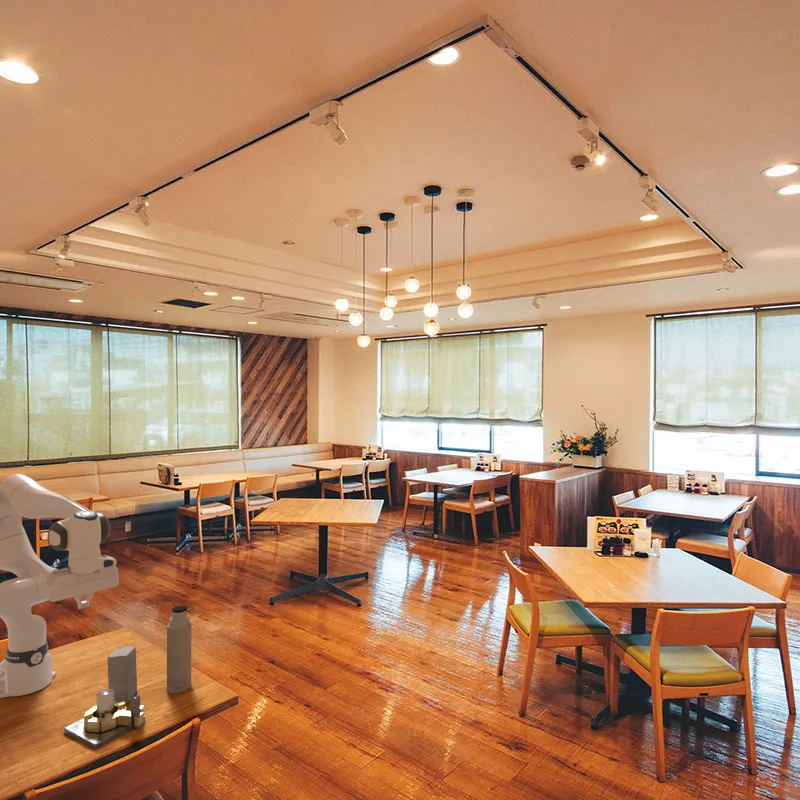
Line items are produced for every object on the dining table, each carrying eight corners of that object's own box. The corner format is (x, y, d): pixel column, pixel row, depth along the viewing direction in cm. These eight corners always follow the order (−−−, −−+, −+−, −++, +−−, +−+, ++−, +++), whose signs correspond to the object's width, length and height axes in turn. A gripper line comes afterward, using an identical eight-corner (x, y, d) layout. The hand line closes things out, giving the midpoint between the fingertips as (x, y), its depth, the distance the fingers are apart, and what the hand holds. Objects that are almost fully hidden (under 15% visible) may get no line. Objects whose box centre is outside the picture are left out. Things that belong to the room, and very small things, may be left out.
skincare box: (128, 704, 183) (128, 656, 183) (105, 705, 182) (106, 657, 182) (138, 690, 191) (138, 645, 191) (117, 691, 190) (117, 645, 190)
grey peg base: (64, 732, 167) (64, 698, 167) (114, 707, 181) (114, 675, 181) (98, 751, 158) (98, 714, 158) (148, 722, 172) (148, 689, 172)
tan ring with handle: (76, 730, 165) (76, 703, 165) (101, 709, 176) (101, 684, 176) (130, 735, 163) (130, 708, 163) (151, 714, 174) (151, 688, 174)
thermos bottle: (162, 693, 189) (163, 612, 189) (172, 681, 197) (172, 603, 197) (186, 693, 189) (186, 612, 189) (194, 681, 197) (194, 603, 197)
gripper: (51, 573, 164) (50, 620, 164) (121, 559, 179) (120, 601, 179) (43, 569, 168) (42, 614, 168) (113, 555, 183) (112, 596, 183)
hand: (83, 607), depth 174 cm, fingers closed
